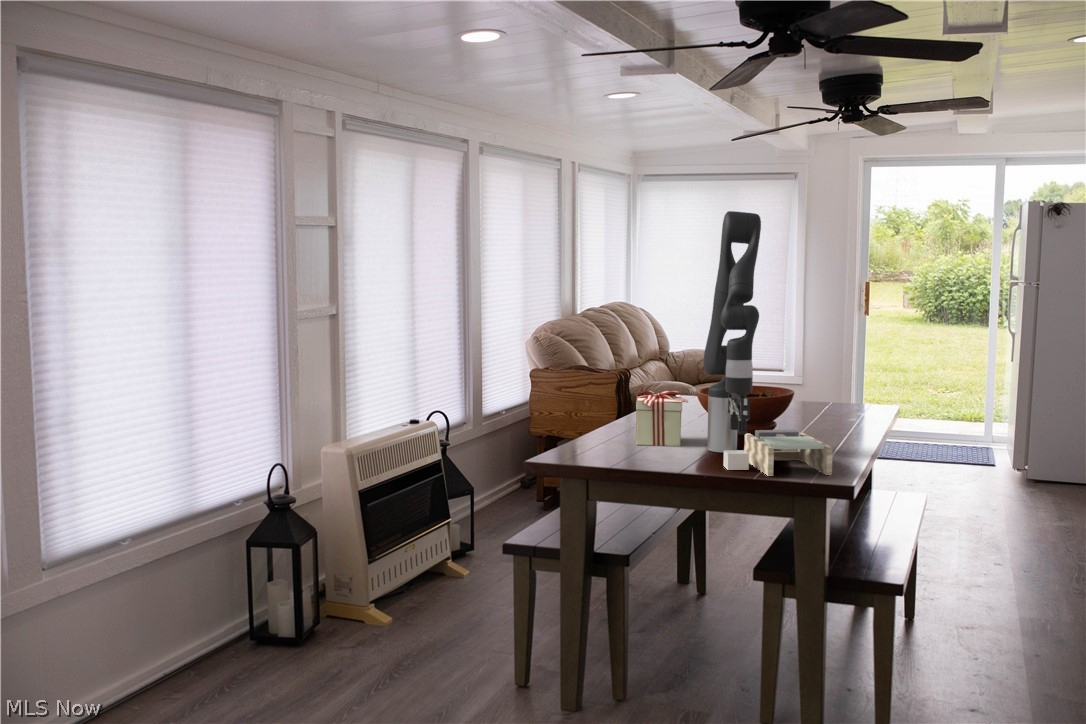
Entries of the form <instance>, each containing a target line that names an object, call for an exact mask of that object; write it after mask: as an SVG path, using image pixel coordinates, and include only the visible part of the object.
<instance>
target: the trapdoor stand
mask: <svg viewBox="0 0 1086 724" xmlns="http://www.w3.org/2000/svg"><path fill="white" fill-rule="evenodd" d="M803 436H807V437H809V438H811V439H813V440H815V441H817V442H819V443H821V444H823V445H824V449H797V450H775V449H774V448H773V447H771V446H770V445H768V444H766V443H765V442H763V441H762V440H760V439H758V438H757V437H755V435H753V434H751V432H750V433H748V432H747V434H744V447H743V450H744V451H746V452H747V453H749V465H751V466H752V465H753V467H754V468H755V469H756V468H757V469H756V470H758V471H759V470H760V473H762V472H763V473H764V474H763V473H762V474H763V475H765V474H766V475H767V476H773V477H774V461H797V460H796V459H800V460H802V461H803V462H802V461H801V462H802V463H804V462H805V463H807V464H809V465H810V466H812V467H813V468H812V467H811V468H812V469H814V468H815V469H817V470H819V471H821V472H822V473H824V474H825V475H832V476H833V448H834V447H832V446H831V445H829V444H826V443H825V442H823V441H821V440H819V439H816V438H814V437H812V436H810V435H809V434H807V433H806V432H799V437H803ZM800 460H799V461H800ZM805 463H804V464H805ZM807 464H806V465H807ZM809 465H808V466H809ZM810 466H809V467H810ZM815 469H814V470H815ZM817 470H816V471H817ZM819 471H818V472H819ZM822 473H821V474H822ZM824 474H823V475H824ZM766 475H765V476H766ZM825 475H824V476H825ZM767 476H766V477H767Z"/></svg>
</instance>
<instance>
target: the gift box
mask: <svg viewBox="0 0 1086 724" xmlns="http://www.w3.org/2000/svg"><path fill="white" fill-rule="evenodd" d="M634 393H635V396H636V402H635V403H636V404H635V406H636V407H635V410H636V415H635V418H636V421H635V423H636V424H635V427H636V428H635V430H636V432H635V433H636V435H635V443H636V444H635V445H637V446H651V447H652V446H653V447H655V446H656V447H681V438H682V437H681V435H682V434H681V433H682V432H681V431H682V430H681V429H682V412H683V403H689V399H686V398H682V392H680V391H678V390H672V391H669V390H663V391H662V392H660V393H659V392H658V393H656V392H654V391H652V390H639V391H636V392H634Z"/></svg>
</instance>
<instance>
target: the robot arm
mask: <svg viewBox="0 0 1086 724" xmlns="http://www.w3.org/2000/svg"><path fill="white" fill-rule="evenodd" d="M761 230H762V220H761V216H760V215H759V214H758V213H755V212H754V213H753V212H746V211H745V212H743V211H732V210H729V211H726V213H725V214H724V216H723V220H722V227H721V238H720V239H721V240H720V250H719V251H720V252H719V253H720V254H719V263H718V269H717V276H716V283H715V288H714V293H713V304H712V312H711V320H710V325H709V331H708V335H707V341H706V343H705V349H704V353H703V368H704V370H705V373H706V374H708V375H710V376H722V375H723V377H722V379H721V380H719V381H718V382H717V383H715V384H713V385H711V386H709V387H708V392H707V399H708V401H707V437H706V438H707V440H706V443H707V445H706V446H707V447H706V449H707V450H708V451H710V452H714V453H724V450H738V434H739V435H745V434H747V433H748V432H747V431H748V420H751V399H750V398H749V397H747V395H746V394H748V393H749V394H750V393H752V392H753V384H754V383H753V375H754V374H753V372H754V370H753V369H754V367H753V342H754V337H755V333H756V330H757V327H758V324H759V320H760V312H759V309H758V308H757V307H756V306H755V305H752V304H747V303H750V302H752V299H753V297H754V286H755V285H754V281H755V280H754V279H755V277H754V276H755V268H756V263H757V259H758V253H759V245H760V238H761ZM733 243H736V244H744V245H745V244H746V245H747V248H746V250H745V252H744V253H743V255H742V256H741V257H740V258H739V259H738V260H737V262H736V260H735V257H734V254H733V252H732V251H733V250H732V244H733ZM745 304H746V305H745ZM727 331H745V333H744V334H743V335H742V336H740V337H735V338H730V339H729V340H728V341H727V342H726V345H723V342H724V338H725V335H726V334H727Z"/></svg>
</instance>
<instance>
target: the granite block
mask: <svg viewBox="0 0 1086 724" xmlns="http://www.w3.org/2000/svg"><path fill="white" fill-rule="evenodd" d="M749 465H750V463H749V453H747V452H746V451H744V449H742V450H741V449H740V450H739V449H737V450H724V452H723V466H724V467H725V468H726V469H727V470H749V471H750V469H749V468H750V466H749ZM723 466H722V467H723ZM724 467H723V468H724ZM725 468H724V469H725ZM726 469H725V470H726ZM727 470H726V471H727Z"/></svg>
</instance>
